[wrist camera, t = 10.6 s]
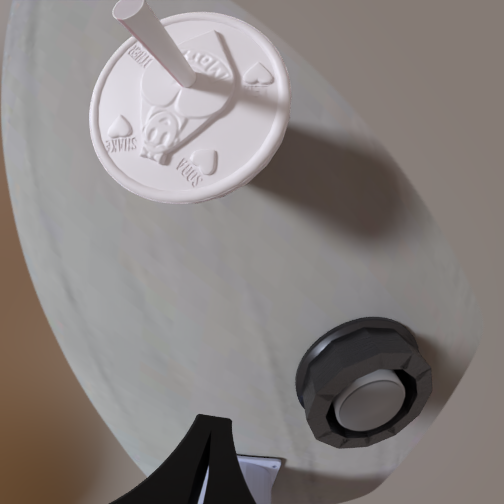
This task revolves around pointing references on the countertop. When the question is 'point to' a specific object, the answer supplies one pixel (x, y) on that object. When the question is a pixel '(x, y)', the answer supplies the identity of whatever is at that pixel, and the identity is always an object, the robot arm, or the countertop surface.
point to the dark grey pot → (358, 365)
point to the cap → (369, 400)
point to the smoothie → (188, 105)
